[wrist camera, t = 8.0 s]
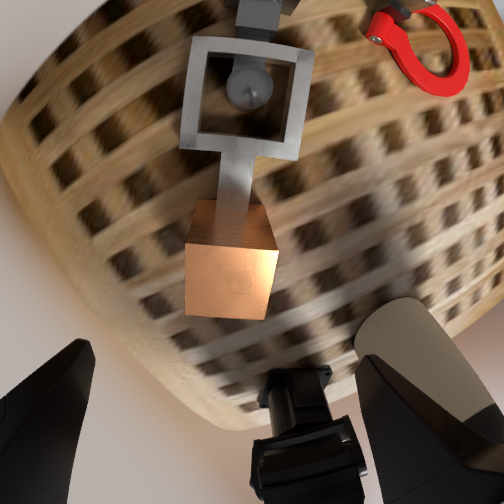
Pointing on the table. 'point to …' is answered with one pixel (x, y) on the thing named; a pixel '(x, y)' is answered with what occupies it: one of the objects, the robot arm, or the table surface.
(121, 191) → the table surface
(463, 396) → the travel mug
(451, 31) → the tow hook
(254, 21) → the hook
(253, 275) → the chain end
